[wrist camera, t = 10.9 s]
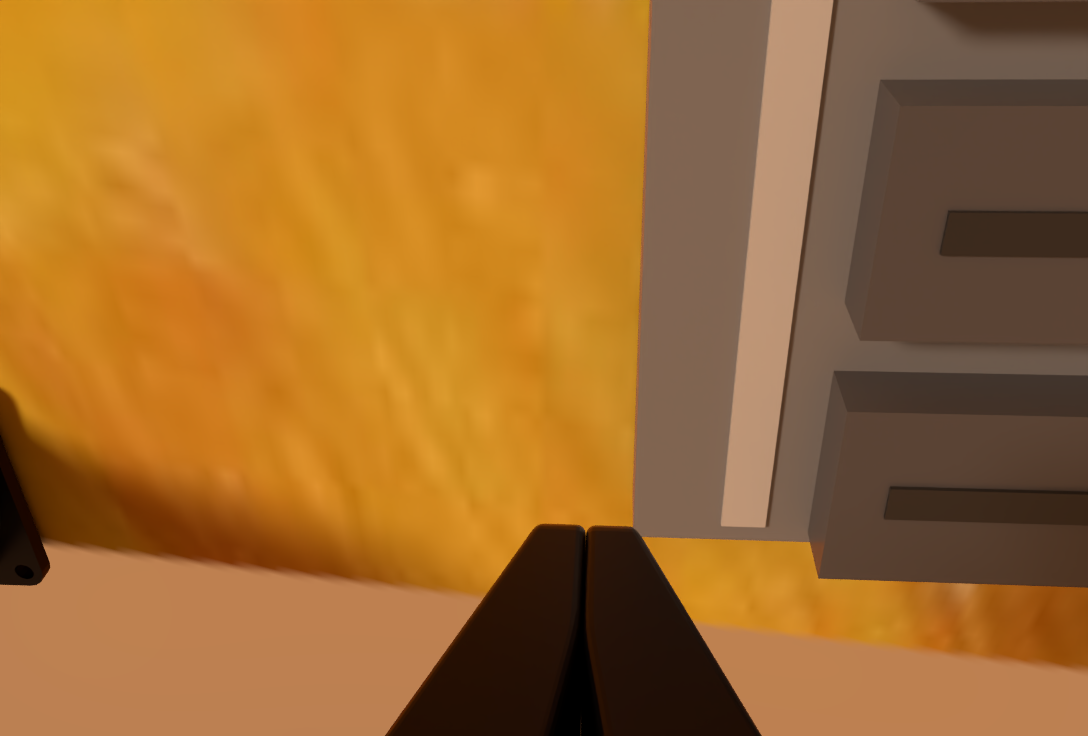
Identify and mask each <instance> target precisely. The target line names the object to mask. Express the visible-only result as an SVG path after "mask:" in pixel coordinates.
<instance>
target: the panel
mask: <svg viewBox="0 0 1088 736" xmlns="http://www.w3.org/2000/svg"><path fill="white" fill-rule="evenodd" d="M633 528H634V529H636V530H637V531H638V533H639V534H640V535H641V537H668V538H700V539H732V540H763V541H795V542H810V544H811V548H812V553H813V557H814V561H815V566H816V570H817V574H818V578H822V579H852V580H881V581H911V582H940V583H970V584H999V585H1029V586H1058V587H1088V0H650V10H649V39H648V68H647V97H646V126H645V155H644V184H643V213H642V242H641V271H640V300H639V329H638V358H637V387H636V416H635V445H634V474H633Z"/></svg>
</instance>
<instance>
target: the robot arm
mask: <svg viewBox="0 0 1088 736" xmlns="http://www.w3.org/2000/svg"><path fill="white" fill-rule="evenodd" d="M585 549H586V550H585ZM49 569H50V563H49V560H48V557H47V555H46V552H45V549H44V547H43V544H42V542H41V539H40V536H39V534H38V531H37V529H36V526H35V524H34V521H33V518H32V516H31V513H30V511H29V508H28V506H27V503H26V500H25V498H24V495H23V493H22V490H21V488H20V485H19V482H18V480H17V477H16V475H15V472H14V470H13V467H12V464H11V462H10V459H9V457H8V454H7V452H6V449H5V446H4V444H3V441H2V439H1V436H0V584H1V585H29V586H30V585H37V584H38V583H40V582H41V581H42V580H43V578H44V577H45V575H46V574H47V573H48V571H49ZM385 736H761V734H760V733H759V731H758V729H757V727H756V726H755V724H754V722H753V721H752V719H751V717H750V716H749V714H748V712H747V711H746V709H745V707H744V706H743V704H742V702H741V701H740V699H739V698H738V696H737V694H736V693H735V691H734V689H733V688H732V686H731V684H730V683H729V681H728V679H727V678H726V676H725V674H724V673H723V671H722V669H721V668H720V666H719V665H718V663H717V661H716V659H715V658H714V656H713V654H712V653H711V651H710V650H709V648H708V646H707V645H706V643H705V641H704V640H703V638H702V636H701V635H700V633H699V631H698V630H697V628H696V626H695V625H694V623H693V621H692V620H691V618H690V616H689V615H688V613H687V611H686V610H685V608H684V606H683V605H682V603H681V602H680V600H679V598H678V597H677V595H676V593H675V592H674V590H673V588H672V587H671V585H670V583H669V582H668V580H667V578H666V577H665V575H664V573H663V572H662V570H661V568H660V567H659V565H658V563H657V562H656V560H655V558H654V557H653V555H652V554H651V552H650V550H649V549H648V547H647V545H646V544H645V542H644V540H643V539H642V537H641V535H640V534H639V533H638V531H637V530H636V529H634V528H632V527H627V526H596V525H595V526H592V527H590V528H589V529H588V530H587V533H586V534H585V530H584V528H583V527H581V526H580V525H566V524H540V525H538V526H536V527H535V528H534V529H533V530H532V532H531V533H530V534H529V536H528V537H527V539H526V540H525V541H524V543H523V544H522V546H521V547H520V548H519V550H518V551H517V552H516V554H515V555H514V557H513V558H512V559H511V561H510V562H509V564H508V565H507V566H506V568H505V569H504V571H503V572H502V573H501V575H500V576H499V578H498V579H497V580H496V582H495V583H494V585H493V586H492V587H491V589H490V590H489V592H488V593H487V594H486V596H485V597H484V598H483V600H482V601H481V603H480V604H479V605H478V607H477V608H476V610H475V611H474V612H473V614H472V615H471V617H470V618H469V620H468V621H467V622H466V624H465V625H464V626H463V628H462V629H461V631H460V632H459V634H458V635H457V636H456V638H455V639H454V640H453V642H452V643H451V645H450V646H449V647H448V649H447V650H446V652H445V653H444V654H443V656H442V657H441V659H440V660H439V661H438V663H437V664H436V665H435V667H434V668H433V670H432V671H431V672H430V674H429V675H428V677H427V678H426V680H425V681H424V682H423V684H422V685H421V687H420V688H419V689H418V691H417V692H416V694H415V695H414V696H413V698H412V699H411V700H410V702H409V703H408V705H407V706H406V708H405V709H404V710H403V711H402V713H401V714H400V716H399V717H398V719H397V720H396V721H395V723H394V724H393V725H392V727H391V728H390V730H389V731H388V733H387V734H386V735H385Z"/></svg>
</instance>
